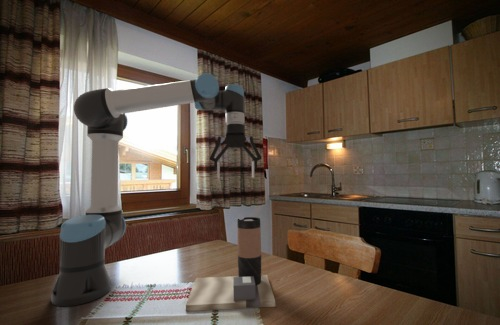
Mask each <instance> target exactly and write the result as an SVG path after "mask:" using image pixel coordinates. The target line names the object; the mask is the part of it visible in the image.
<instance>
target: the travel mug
mask: <svg viewBox="0 0 500 325" xmlns="http://www.w3.org/2000/svg"><path fill="white" fill-rule="evenodd" d="M236 222H237V266H238V268H237V269H238V270H237V271H238V276H239V277H247V276H254V281H255V286H256V285H259V284H260V283H261V275H262V236H261V234H262V233H261V218H259V217H253V216H250V217H249V216H248V217H243V219H240V218H237V221H236Z"/></svg>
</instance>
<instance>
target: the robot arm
mask: <svg viewBox="0 0 500 325" xmlns="http://www.w3.org/2000/svg"><path fill="white" fill-rule="evenodd" d="M186 104H187V105H188V104H194V108H195V109H196V110H199V111H225V124H226V125H225V137H223V136H218V137H217V142H216V144H215V146H214V148H213V151H212V152H211V154H210V157H209V160H210V161H212V162H213V164H214V166H213V168H214V171H216V172H217V173H216V174H217V175H216V176H217V178H216V180H217V179H220V178H221V176H220V172H221V171H220V170H221V168H220V166H221V165H220V164H221V162H220V161H219V160H220V159H221V158H222V157H223V155H224V154H225V153H226V152H227V151H228V150H229V149H230V148H231V149H240V148H242V150H244V152H245V153H246V155H248V156H249V157H250V158H251V159H252V161H251V178H252V179H255V170H257V169H258V161H261V160H262V155H261V154H260V152H259V150H258V148H257V146H256V143H255V142H254V138H253V136H252V135H251V136H247V137H246V130H245V129H246V128H245V123H246V122H245V121H246V120H245V91H244V87H243V86H242V85H239V84H228V85H226V86H225V89H224V90H220V86H219V82H218V79H217V78H216V77H215V75H213V74H212V73H208V72H206V73H205V72H204V73H201V74H199V75H198V76H197V78H195V79H189V80H181V81H175V82H174V81H173V82H167V83H159V84H152V85H146V86H137V87H133V88H132V87H131V88H124V89H117V90H113V89H112V88H110V87H107V88H99V89H92V90H89V91H86V92H83V93H82V94H80V95H79V96H78V97H77V98H76V99H75V101H74V104H73V112H74V115H75V117H76V119H77V120H78V121H79V122H80V123H81V124H83V125H85V126H87V127H86V128H87V130H86V132H87V135H86V136H87V137H88V138H89V139H90V140H91V172H90V173H91V175H90V176H91V178H90V179H91V180H90V206H89V207H88V208H87V209H86V210H85V214H84V215H80V216H75V217H71V218H69V219H67V220H65V221H64V222H63V223H62V224H61V226H60V233H59V274H58V276H57V277H56V281H55V284H54V286H53V289H52V291H51V297H50V298H51V300H50V301H51V304H52V305H53V306H56V307H72V306H77V305H78V306H79V305H83V304H86V303H89V302H93V301H95V300H98V299H100V298H101V297H104V296H105V295H107V293H109V291H110V290H111V278H110V276H109V273H108V271H107V268H106V265H105V263H106V262H105V258H106V255H105V253H106V249H107V248H109V247H111V246H113V245H115V244H116V243H118V241H119V240H121V239H122V238H123V236H124V234H125V232H126V229H127V224H126V220H125V218H124V217H123V209H122V206H120V205H119V204H118V200H119V199H118V198H119V197H118V194H119V193H118V191H119V189H118V187H119V186H118V185H119V183H118V182H119V142H120V141H121V140H122V139H123V138H124V131H125V129H126V128H127V126H128V117H127V114H129V113H136V112H142V111H147V110H155V109H159V108H160V109H161V108H168V107H169V108H170V107H174V106H181V105H186ZM246 141H247V142H248V143H249V144H250V146H251V148H252V150H253V152H254V154H255V155H254V154H253V153H252V151H250V149H249V148H248V147H247V145H245V144H246V143H245V142H246ZM224 142H226V145H225V146H224V147H223V148H222V149H221V151H220V152H219V153H218V154H217V152H218V150H219V148H220V147H221V144H222V143H224ZM216 154H217V155H216ZM220 180H221V179H220Z"/></svg>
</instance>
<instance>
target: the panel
mask: <svg viewBox="0 0 500 325" xmlns="http://www.w3.org/2000/svg"><path fill="white" fill-rule="evenodd" d="M234 277H239V275H233V276H232V275H231V276H209V277H207V276H206V277H196V278H195V280H194V283H193V286H192V288H191V291H190V293H189V296H188V299H187V301H186V303H185V312H193V311H198V312H199V311H209V310H210V311H212V310H213V311H216V310H231V309H232V310H233V309H234V310H235V309H251V308H252V309H254V307H256V308H271V307H272V308H273V307H276V299H275V296H274V293H273V289H272V287H271V283H270V281H269V280H270V279H269V278H268V275H267V274H261V283H260V284H259V285H256V286H255V294H256V300H241V301H234V287H233V284H234Z"/></svg>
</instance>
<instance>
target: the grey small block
mask: <svg viewBox="0 0 500 325" xmlns="http://www.w3.org/2000/svg"><path fill="white" fill-rule="evenodd" d="M233 287H234V301H241V300H256V294H255V281H254V276H247V277H234V284H233Z"/></svg>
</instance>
